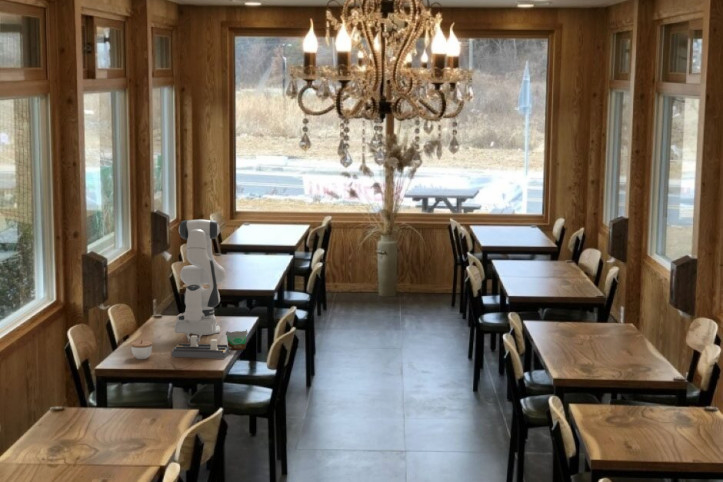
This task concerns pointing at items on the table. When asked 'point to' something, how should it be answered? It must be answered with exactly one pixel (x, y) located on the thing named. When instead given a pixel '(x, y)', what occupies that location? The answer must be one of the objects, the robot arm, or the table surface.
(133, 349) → the lidded jar
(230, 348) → the food container
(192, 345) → the tab
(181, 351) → the switch board
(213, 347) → the tab
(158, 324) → the table surface
